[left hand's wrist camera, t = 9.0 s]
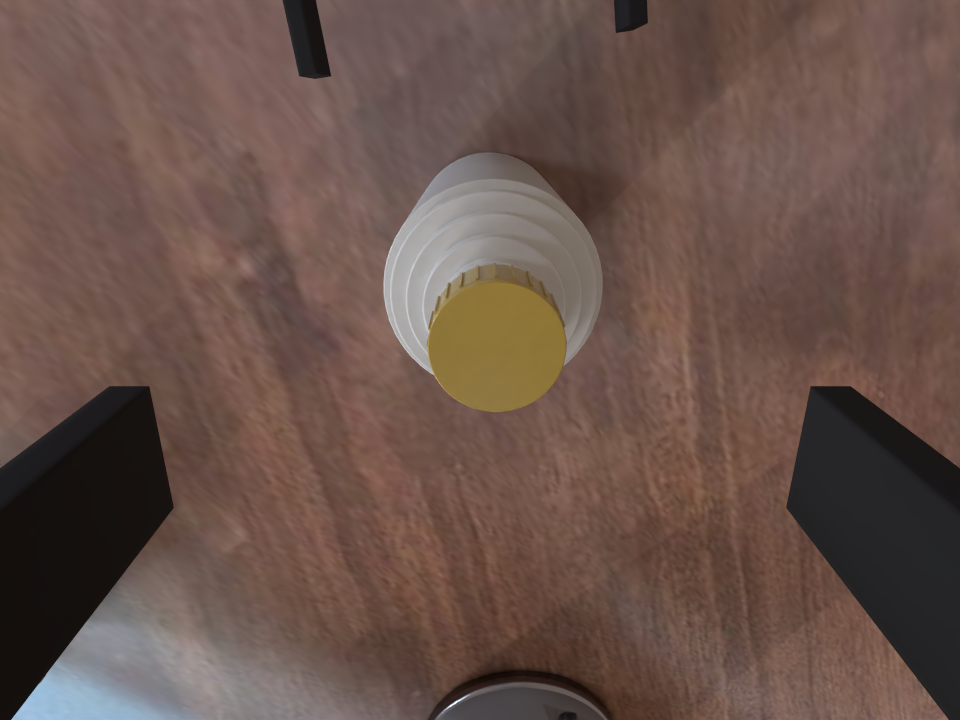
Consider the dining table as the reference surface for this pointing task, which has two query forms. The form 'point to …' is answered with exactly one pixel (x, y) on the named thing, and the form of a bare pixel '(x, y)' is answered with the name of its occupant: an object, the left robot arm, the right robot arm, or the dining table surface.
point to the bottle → (490, 246)
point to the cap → (496, 338)
